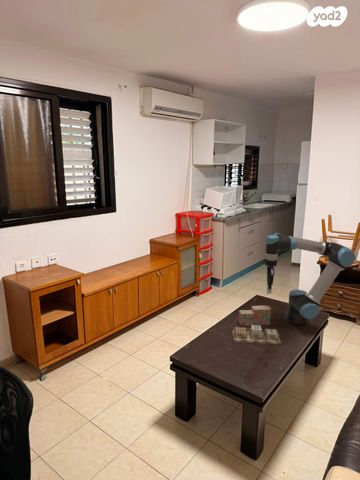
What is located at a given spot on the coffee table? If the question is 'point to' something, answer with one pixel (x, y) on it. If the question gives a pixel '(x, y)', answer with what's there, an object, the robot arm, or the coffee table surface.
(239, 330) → the tile
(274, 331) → the light grey block
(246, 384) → the coffee table surface
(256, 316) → the stack of blocks
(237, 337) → the button board
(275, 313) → the coffee table surface
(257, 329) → the tile
